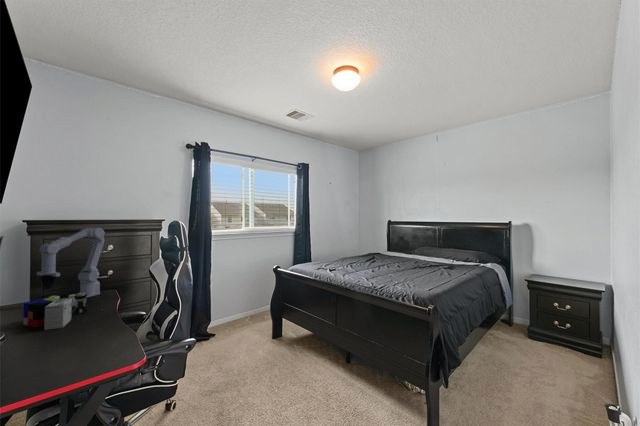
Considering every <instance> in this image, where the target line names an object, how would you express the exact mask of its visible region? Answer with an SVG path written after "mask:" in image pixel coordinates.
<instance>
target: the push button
mask: <svg viewBox="0 0 640 426" xmlns="http://www.w3.org/2000/svg"><path fill="white" fill-rule="evenodd" d="M75 294H76V295H75V296H74V297H75V299H76V306H74V308H73V310H72V311H71V314H81V313H86V312H87V306H86V303H85V298H86V296H87V294H85V293H80V292H77V293H75ZM86 299H87V298H86Z"/></svg>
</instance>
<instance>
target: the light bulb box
mask: <svg viewBox="0 0 640 426" xmlns="http://www.w3.org/2000/svg"><path fill="white" fill-rule="evenodd" d="M61 299H62V298H61ZM72 307H73V306H72V299H62V300H54V301H53V302H52V303H50V304H49V305H47V306H45V324H44V325H43V327H44V331H46V330H47V331H48V330H55V329H62V328H64V327H65V326H66V325H68V323H69V322H71V320H72Z"/></svg>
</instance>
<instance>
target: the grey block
mask: <svg viewBox="0 0 640 426" xmlns="http://www.w3.org/2000/svg"><path fill="white" fill-rule="evenodd" d="M76 294H77V293H75V294H74V293H73V294H69V295H68V299H72V301H73V300H76V299H75V297H74V296H75V295H76Z"/></svg>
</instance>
